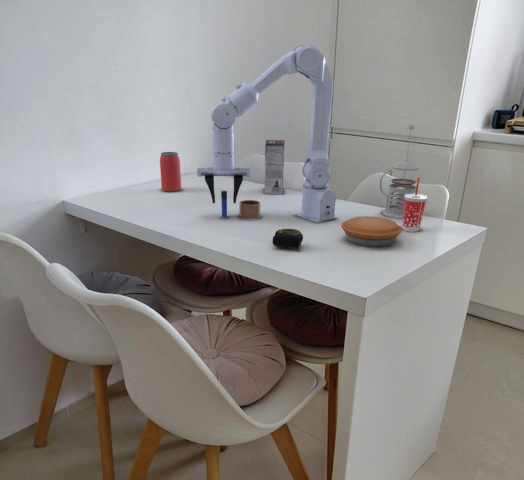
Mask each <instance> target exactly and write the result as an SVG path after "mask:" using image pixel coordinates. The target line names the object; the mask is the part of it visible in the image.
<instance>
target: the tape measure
mask: <svg viewBox="0 0 524 480" xmlns="http://www.w3.org/2000/svg"><path fill="white" fill-rule="evenodd" d="M303 239H304V235H303V233H302V232H301V230H298V229H295V228H281V229H278V230H276V231H275V233H274V235H273V236H272V245H273V246H274V247H275V246H276V247H279V248H284V249H286V250H287V249H300V247H301V245H302V243H303Z"/></svg>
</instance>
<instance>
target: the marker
mask: <svg viewBox="0 0 524 480" xmlns="http://www.w3.org/2000/svg"><path fill="white" fill-rule="evenodd" d="M220 197H221V198H220V199H221V217H222V218H227V217H228V191H227V190H221V191H220Z"/></svg>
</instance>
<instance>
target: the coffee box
mask: <svg viewBox="0 0 524 480" xmlns="http://www.w3.org/2000/svg"><path fill="white" fill-rule="evenodd" d="M285 141H286V140H284V139H265V145H264V146H265V147H264V148H265V150H264V194H265V195H266V194H267V195H283V192H284V174H285V172H284V171H285V150H286V149H285V145H286V144H285V143H286V142H285Z"/></svg>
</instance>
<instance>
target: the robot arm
mask: <svg viewBox="0 0 524 480" xmlns="http://www.w3.org/2000/svg"><path fill="white" fill-rule="evenodd" d="M297 73H299V74H300V75H302V76H304V77H305V78H306V79H307V81H308V82H309V83H310V84H311V85H312V87H313V93H312V94H313V95H312V106H311V117H310V118H311V119H310V134H309V146H308V151H307V153H306V160H305V162H304V164H303V166H302V175H303V177H304V178H305V179H304V181H303V183H302V194H301V195H302V196H301V211H300V212H298V213H294V215H295V216H298V217H301V218H304V219H307V220H311V221H315V222H326V221H330V220H335V219H337V216H336V215H335V210H336V201H337V198H336V197H337V196H336V193H335V191H334V190H333V189H330V187H329V182H330V181H331V177H332V173H331V170H330V166H329V162H330V160H329V159H330V158H329V154H328V146H329V144H328V143H329V134H330V125H331V124H330V122H331V113H332V112H331V111H332V100H333V99H332V98H333V89H334V77H333V75H332V72H331V70H330V68H329V66H328V64H327V61H326V57H325V55H324V54H323V53H322V51H320V50H319V49H318V48H317V47H316V46H314V45H312V44H306V45H304V44H301V45H298V46H296V47H295V48H294V49H293V50H291V51H289V52H287V53H285V54H284V55H282V56H281V57H279V58H278V59H277V60H276V61H275V62H274V63H272V64H271V66H270V67H268V68H267V69H266V70H265V71H264V72H263V73H261V74H260V75H259V76H258V77H257V78H256V79H254V81H253V82H251V83H249V82H243V83H242V84H241V83H238V84H237V85H236V86H235V88H236V89H235V90H233V91H232V92H231V93H230V94H229V95H228V96H226V97H225V96H223V97H222V98H221V101H222V102H220V103H218V104H215V105H214V107H213V108H212V110H211V114H210V117H211V120H212V122H213V123H212V132H213V133H212V167H197V168H196V174H197V175H196V176H197V177H198V178H199V177H204V181H205V183H206V185H207V188H208V190H209V193H210V196H211V201H212V204H216V195H215V177H233V194H232V203H233V204H237V198H238V195H239V191H240V188H241V185H242V183H243V181H244V177H246V178H250V177H251V168H250V167H236V166H235V133H234V124H235V121H236V118H240V117H241V116H243V115H244V114H245V113H246V112H247V111H249V110H250V109H251V108H252V107H254V106H255V105H256V104H257V103H258V102H259V96H260V94H261V93H262V92H264V91H265V90H267V89H268V88H269V87H270V86H272V85H273V84H274V83H275V82H277V81H278V80H280V79H281V78H282V77H284V76H286V75H292V74H297Z"/></svg>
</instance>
